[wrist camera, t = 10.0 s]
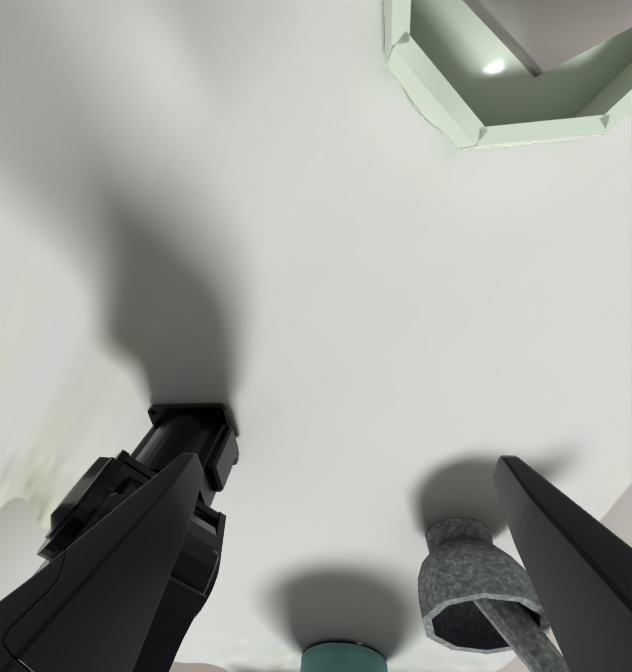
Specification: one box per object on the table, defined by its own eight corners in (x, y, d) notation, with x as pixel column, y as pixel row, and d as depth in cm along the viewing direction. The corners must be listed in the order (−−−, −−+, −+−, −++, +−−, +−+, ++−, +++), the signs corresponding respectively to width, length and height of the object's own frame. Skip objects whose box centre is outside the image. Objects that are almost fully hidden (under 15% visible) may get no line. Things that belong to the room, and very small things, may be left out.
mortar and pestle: (399, 559, 33) (425, 738, 23) (415, 501, 29) (457, 688, 19) (507, 571, 33) (586, 759, 22) (540, 513, 29) (657, 713, 18)
